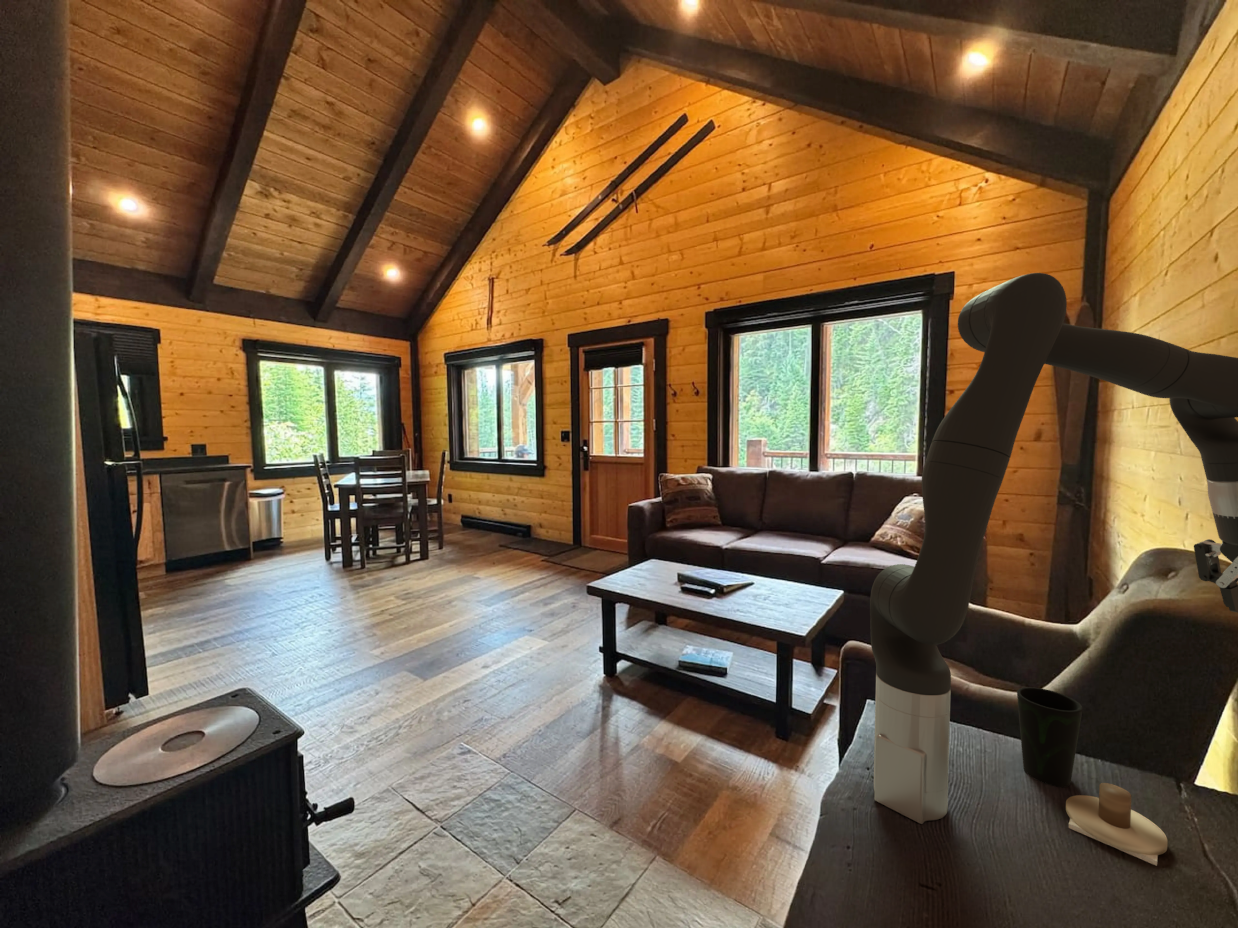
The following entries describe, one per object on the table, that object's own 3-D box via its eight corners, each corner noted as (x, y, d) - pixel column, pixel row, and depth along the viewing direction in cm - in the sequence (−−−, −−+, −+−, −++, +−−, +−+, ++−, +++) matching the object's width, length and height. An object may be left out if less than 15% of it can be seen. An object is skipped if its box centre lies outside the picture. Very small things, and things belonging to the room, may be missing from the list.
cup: (1054, 761, 81) (1056, 688, 80) (1094, 793, 73) (1096, 713, 73) (1003, 757, 81) (1005, 685, 81) (1037, 789, 74) (1040, 709, 73)
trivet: (1156, 865, 60) (1157, 860, 60) (1068, 827, 66) (1068, 823, 66) (1159, 832, 65) (1159, 828, 65) (1077, 800, 71) (1077, 796, 71)
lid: (1166, 868, 59) (1167, 828, 59) (1060, 822, 66) (1061, 787, 66) (1168, 828, 65) (1169, 793, 65) (1071, 791, 73) (1072, 758, 72)
